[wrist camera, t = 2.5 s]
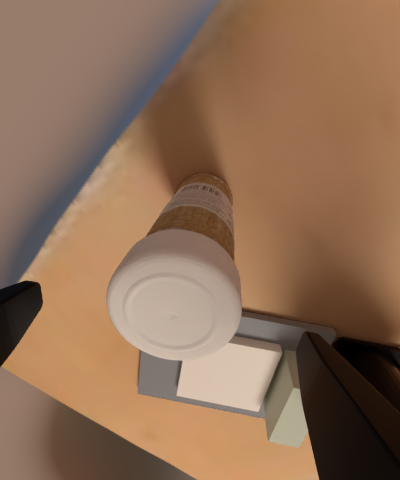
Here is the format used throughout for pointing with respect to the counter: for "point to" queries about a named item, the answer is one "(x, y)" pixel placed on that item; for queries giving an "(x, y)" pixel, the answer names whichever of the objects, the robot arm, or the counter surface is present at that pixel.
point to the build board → (242, 376)
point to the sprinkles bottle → (181, 277)
